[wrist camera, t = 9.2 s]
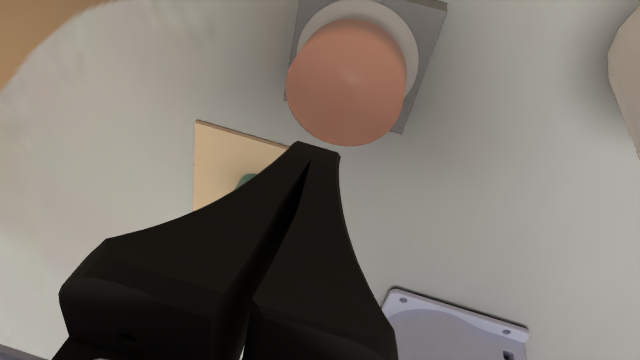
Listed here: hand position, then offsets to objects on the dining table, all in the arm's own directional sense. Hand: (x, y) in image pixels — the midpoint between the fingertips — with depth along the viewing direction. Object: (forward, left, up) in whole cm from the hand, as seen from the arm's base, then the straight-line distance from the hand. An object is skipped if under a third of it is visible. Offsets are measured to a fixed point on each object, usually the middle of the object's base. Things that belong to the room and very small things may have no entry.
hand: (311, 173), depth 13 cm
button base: (0, 0, -10) cm, 10 cm away
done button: (0, 0, -7) cm, 7 cm away
